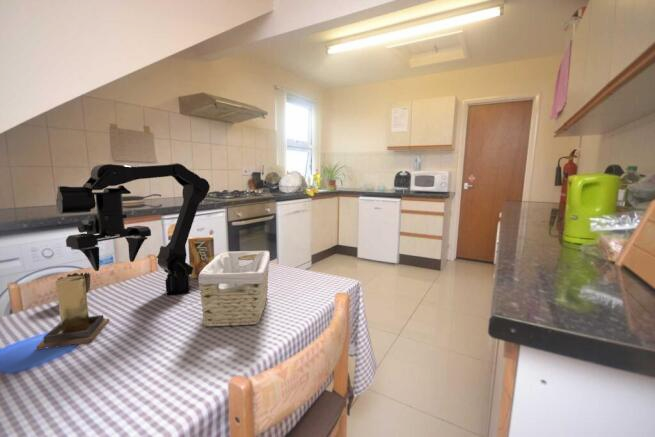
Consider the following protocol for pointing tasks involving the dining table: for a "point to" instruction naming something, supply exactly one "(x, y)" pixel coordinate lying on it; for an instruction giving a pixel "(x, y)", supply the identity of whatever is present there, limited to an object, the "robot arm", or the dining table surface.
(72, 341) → the square brown tray
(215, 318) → the storage basket
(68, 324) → the billet
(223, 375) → the dining table surface
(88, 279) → the cup
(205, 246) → the candy box
